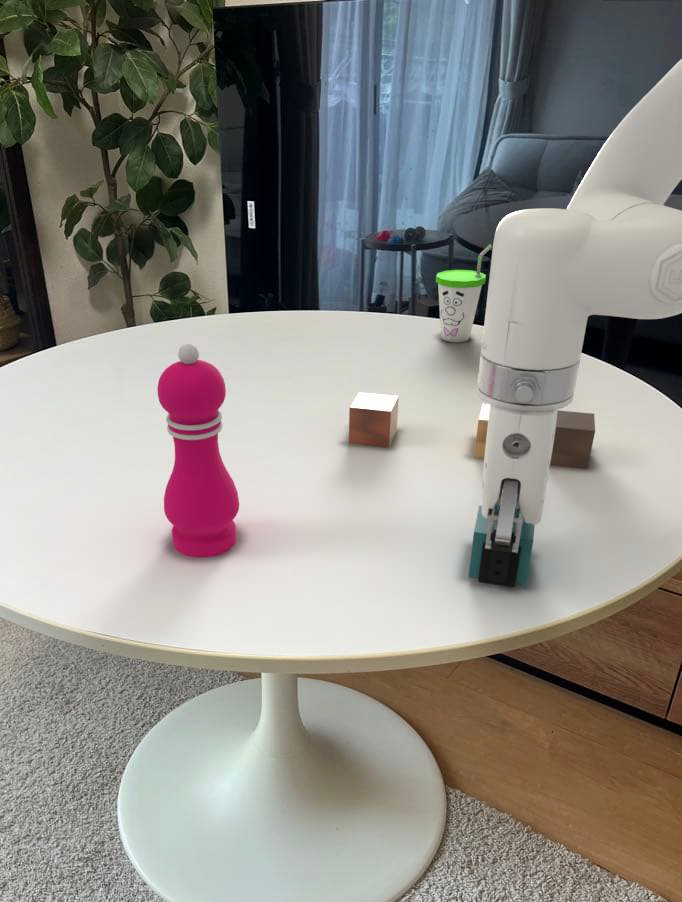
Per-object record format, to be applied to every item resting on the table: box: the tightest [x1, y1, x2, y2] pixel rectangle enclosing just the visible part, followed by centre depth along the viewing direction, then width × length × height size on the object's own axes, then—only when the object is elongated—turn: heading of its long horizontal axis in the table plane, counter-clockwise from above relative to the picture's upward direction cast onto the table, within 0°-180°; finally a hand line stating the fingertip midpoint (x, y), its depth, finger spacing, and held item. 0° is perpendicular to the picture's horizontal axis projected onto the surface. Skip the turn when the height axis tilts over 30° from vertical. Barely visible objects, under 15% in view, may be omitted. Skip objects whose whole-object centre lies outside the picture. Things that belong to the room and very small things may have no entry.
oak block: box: [473, 403, 490, 459], centre depth 92 cm, size 5×5×5 cm
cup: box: [435, 243, 493, 343], centre depth 126 cm, size 8×8×15 cm
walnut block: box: [550, 409, 596, 470], centre depth 90 cm, size 5×5×5 cm
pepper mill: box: [157, 343, 240, 558], centre depth 73 cm, size 7×7×20 cm
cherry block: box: [348, 392, 400, 449], centre depth 96 cm, size 5×5×5 cm
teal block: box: [468, 505, 536, 586], centre depth 71 cm, size 5×5×5 cm
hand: (499, 564), depth 72 cm, fingers closed on teal block, 5 cm apart
